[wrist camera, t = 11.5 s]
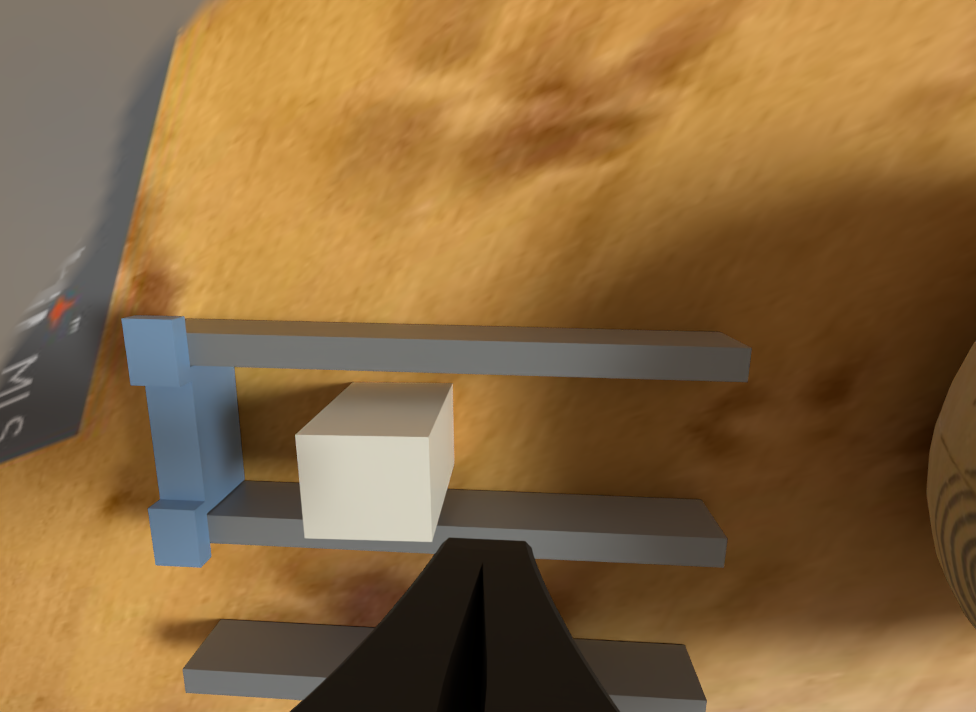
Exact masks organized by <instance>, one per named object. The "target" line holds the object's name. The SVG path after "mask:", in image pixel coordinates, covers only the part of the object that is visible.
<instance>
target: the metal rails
mask: <svg viewBox="0 0 976 712" xmlns="http://www.w3.org/2000/svg"><path fill="white" fill-rule="evenodd" d="M121 319H122V326H123V333H124V341H125V348H126V355H127V362H128V370H129V377H130V384H131V385H135V386H145V389H146V396H147V404H148V411H149V419H150V426H151V434H152V442H153V449H154V457H155V464H156V472H157V479H158V487H159V494H160V500H158V501H157V502H156V503H154V504H153V505H152V506H150V507H149V508H148V514H149V521H150V528H151V535H152V542H153V550H154V557H155V564H156V565H161V566H180V567H200V568H201V567H202V566H203V565H204V564H205V563H206V562H207V561H208V560H209V559H210V558H211V548H210V543H220V544H241V545H262V546H283V547H304V548H325V549H346V550H367V551H388V552H409V553H430V554H435V553H436V552H437V550H438V549H439V547H440V546H441V544H442V543H443V542H444V541H445V540H447V539H448V538H449V537H450V538H472V539H494V540H515V541H526V542H527V543H528V544H529V545H530V547H531V548H532V551H533V555H534V558H535V559H555V560H576V561H597V562H618V563H639V564H660V565H681V566H702V567H722V568H724V562H725V555H726V547H727V537H726V536H725V534H724V533H723V531H722V530H721V528H720V527H719V525H718V524H717V522H716V521H715V519H714V518H713V516H712V515H711V513H710V512H709V510H708V509H707V507H706V506H705V504H704V503H703V501H702V500H699V499H675V498H651V497H627V496H602V495H578V494H554V493H530V492H506V491H481V490H457V489H447V491H446V495H445V498H444V502H443V505H442V509H441V512H440V516H439V519H438V523H437V526H436V530H435V533H434V537H433V540H432V542H414V541H380V540H345V539H311V538H305V537H304V526H303V515H302V504H301V493H300V483H288V482H264V481H244V480H245V477H244V467H243V456H242V445H241V434H240V424H239V413H238V402H237V392H236V381H235V370H234V367H256V368H290V369H323V370H357V371H390V372H424V373H457V374H490V375H524V376H557V377H591V378H624V379H658V380H691V381H725V382H748V375H749V367H750V359H751V351H752V348H751V347H749V346H747V345H745V344H743V343H741V342H739V341H737V340H735V339H733V338H731V337H729V336H727V335H725V334H723V333H721V332H703V331H663V330H623V329H583V328H543V327H504V326H464V325H424V324H384V323H344V322H304V321H265V320H225V319H185V317H184V316H145V315H135V316H130V317H126V318H121ZM373 630H374V628H369V627H351V626H333V625H315V624H296V623H278V622H260V621H242V620H224V619H221V620H220V621H219V622H218V624H217V625H216V626H215V628H214V629H213V630H212V631H211V633H210V634H209V635H208V637H207V638H206V639H205V641H204V642H203V643H202V644H201V646H200V647H199V648H198V650H197V651H196V652H195V654H194V655H193V656H192V657H191V659H190V660H189V661H188V663H187V664H186V665H185V667H184V668H183V675H184V683H185V690H186V693H198V694H213V695H229V696H245V697H261V698H277V699H293V700H303V699H305V698H306V697H307V696H308V695H309V694H310V693H311V692H312V691H313V690H314V689H315V688H316V687H318V686H319V685H320V684H321V683H322V682H323V681H324V680H325V679H326V678H327V677H328V676H329V675H330V674H331V673H332V672H333V671H334V670H335V669H336V668H337V667H338V666H339V665H340V664H341V663H342V662H343V661H344V660H345V659H346V658H347V657H348V656H349V655H350V654H351V653H352V652H353V651H354V650H355V648H356V647H357V646H358V645H359V644H360V643H361V642H362V641H363V640H364V639H365V638H366V637H367V636H368V635H369V634H370V633H371V632H372V631H373ZM574 641H575V643H576V644H577V646H578V648H579V649H580V651H581V653H582V654H583V656H584V658H585V659H586V661H587V662H588V664H589V666H590V667H591V669H592V670H593V672H594V673H595V675H596V676H597V678H598V680H599V681H600V683H601V684H602V686H603V687H604V689H605V690H606V692H607V693H608V695H609V696H610V698H611V699H612V701H613V702H614V703H615V705H616V706H617V708H618V709H619V711H620V712H705V711H706V703H707V700H706V697H705V695H704V692H703V690H702V687H701V685H700V682H699V680H698V677H697V675H696V672H695V670H694V667H693V665H692V662H691V659H690V657H689V654H688V652H687V649H686V647H685V645H675V644H657V643H639V642H621V641H603V640H585V639H574Z"/></svg>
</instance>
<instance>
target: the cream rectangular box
mask: <svg viewBox="0 0 976 712" xmlns="http://www.w3.org/2000/svg"><path fill="white" fill-rule="evenodd" d="M295 439H296V450H297V461H298V472H299V482H300V493H301V504H302V515H303V526H304V537H305V538H311V539H345V540H380V541H414V542H432V540H433V537H434V533H435V530H436V526H437V523H438V519H439V516H440V512H441V509H442V505H443V502H444V498H445V495H446V491H447V488H448V484H449V481H450V477H451V474H452V470H453V467H454V426H453V383H394V382H352V383H351V384H350V385H349V386H348V387H347V388H346V389H345V390H344V391H343V392H341V393H340V394H339V395H338V396H337V397H336V398H335V399H334V400H333V401H332V402H330V403H329V404H328V405H327V406H326V407H325V408H324V409H323V410H322V411H321V412H320V413H318V414H317V415H316V416H315V417H314V418H313V419H312V420H311V421H310V422H309V423H307V424H306V425H305V426H304V427H303V428H302V429H301V430H300V431H299V432H298V433H297V434H295Z"/></svg>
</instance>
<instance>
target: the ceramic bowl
mask: <svg viewBox="0 0 976 712" xmlns="http://www.w3.org/2000/svg"><path fill="white" fill-rule="evenodd" d="M926 495H927V502H928V509H929V515H930V522H931V529H932V535H933V540H934V545H935V550H936V555H937V558H938V560H939V562H940V565H941V567H942V570H943V572H944V575H945V577H946V580H947V581H948V583H949V585H950V587H951V589H952V591H953V593H954V595H955V597H956V599H957V601H958V603H959V605H960V607H961V609H962V611H963V613H964V614H965V615H966V617H967V618H968V620H969V621H970V622H971V624H972V625H973V626H974V628H975V629H976V341H975V342H974V344H973V345H972V347H971V349H970V351H969V352H968V354H967V356H966V358H965V360H964V361H963V363H962V365H961V367H960V369H959V370H958V372H957V374H956V376H955V378H954V379H953V381H952V383H951V386H950V388H949V391H948V393H947V396H946V398H945V401H944V403H943V406H942V409H941V412H940V414H939V417H938V419H937V422H936V424H935V429H934V433H933V438H932V443H931V447H930V452H929V464H928V477H927V490H926Z"/></svg>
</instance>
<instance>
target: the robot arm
mask: <svg viewBox="0 0 976 712" xmlns="http://www.w3.org/2000/svg"><path fill="white" fill-rule="evenodd" d="M290 712H620V711H619V709H618V708H617V706H616V705H615V703H614V702H613V701H612V699H611V698H610V696H609V695H608V693H607V692H606V690H605V689H604V687H603V686H602V684H601V683H600V681H599V680H598V678H597V676H596V675H595V673H594V672H593V670H592V669H591V667H590V666H589V664H588V662H587V661H586V659H585V658H584V656H583V654H582V653H581V651H580V649H579V648H578V646H577V644H576V643H575V641H574V639H573V637H572V636H571V634H570V632H569V630H568V628H567V626H566V625H565V623H564V621H563V619H562V617H561V615H560V614H559V612H558V610H557V608H556V606H555V604H554V602H553V600H552V598H551V596H550V594H549V592H548V590H547V588H546V585H545V583H544V581H543V579H542V576H541V574H540V572H539V569H538V566H537V564H536V561H535V558H534V555H533V551H532V548H531V547H530V545H529V544H528V543H527V542H526V541H515V540H494V539H472V538H450V537H449V538H448V539H447V540H445V541H444V542H443V543H442V544H441V546H440V547H439V549H438V550H437V552H436V553H435V554H434V556H433V557H432V559H431V560H430V561H429V563H428V564H427V566H426V567H425V568H424V570H423V571H422V572H421V573H420V575H419V576H418V577H417V579H416V580H415V581H414V582H413V584H412V585H411V586H410V588H409V589H408V590H407V591H406V592H405V594H404V595H403V596H402V597H401V598H400V599H399V601H398V602H397V603H396V604H395V605H394V607H393V608H392V609H391V610H390V611H389V613H388V614H387V615H386V616H385V617H384V618H383V620H382V621H381V622H380V623H379V624H378V625H377V626H376V627H375V628H374V630H373V631H372V632H371V633H370V634H369V635H368V636H367V637H366V638H365V639H364V640H363V641H362V642H361V643H360V644H359V645H358V646H357V647H356V648H355V650H354V651H353V652H352V653H351V654H350V655H349V656H348V657H347V658H346V659H345V660H344V661H343V662H342V663H341V664H340V665H339V666H338V667H337V668H336V669H335V670H334V671H333V672H332V673H331V674H330V675H329V676H328V677H327V678H326V679H325V680H324V681H323V682H322V683H321V684H320V685H319V686H318V687H316V688H315V689H314V690H313V691H312V692H311V693H310V694H309V695H308V696H307V697H306V698H305V699H303V700H302V701H301V702H300V703H299V704H298V705H297V706H296V707H294V708H293V709H292V710H291V711H290Z"/></svg>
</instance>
